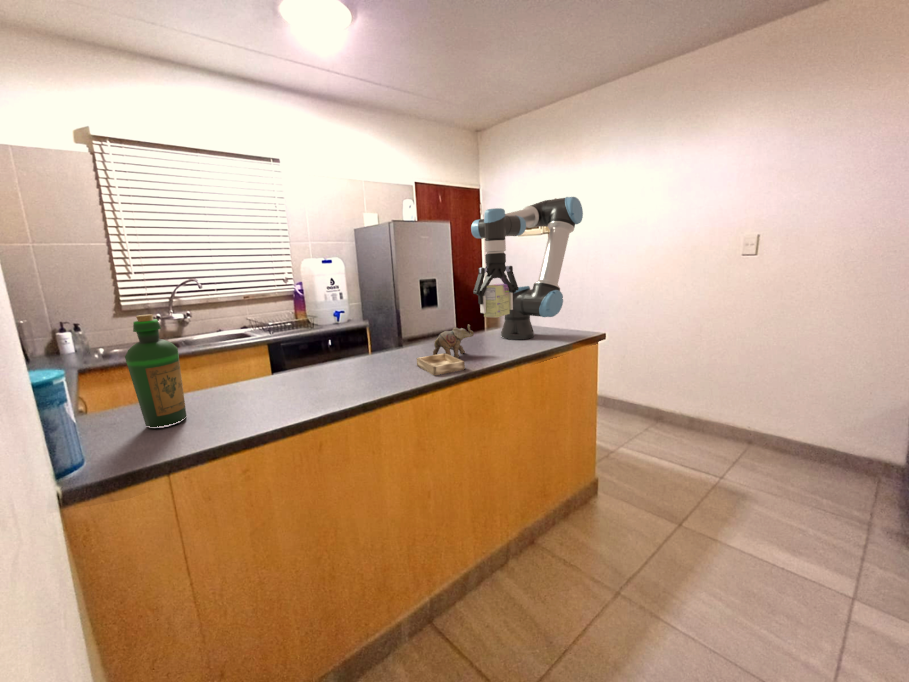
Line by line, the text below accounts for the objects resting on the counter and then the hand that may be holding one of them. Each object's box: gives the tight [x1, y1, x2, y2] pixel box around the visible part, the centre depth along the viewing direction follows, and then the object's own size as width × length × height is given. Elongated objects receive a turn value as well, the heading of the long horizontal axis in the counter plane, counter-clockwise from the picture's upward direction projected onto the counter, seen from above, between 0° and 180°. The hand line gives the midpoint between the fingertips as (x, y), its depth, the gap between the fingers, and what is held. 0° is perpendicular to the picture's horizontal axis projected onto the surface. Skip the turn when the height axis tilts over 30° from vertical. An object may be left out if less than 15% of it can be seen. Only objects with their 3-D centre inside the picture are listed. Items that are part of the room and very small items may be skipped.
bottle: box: [124, 313, 187, 427], centre depth 99 cm, size 11×11×28 cm
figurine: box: [432, 324, 475, 359], centre depth 154 cm, size 10×14×15 cm, turn 88°
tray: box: [416, 352, 466, 377], centre depth 140 cm, size 12×15×3 cm
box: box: [483, 283, 510, 319], centre depth 150 cm, size 10×6×12 cm, turn 145°
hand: (496, 311), depth 151 cm, fingers closed on box, 11 cm apart
